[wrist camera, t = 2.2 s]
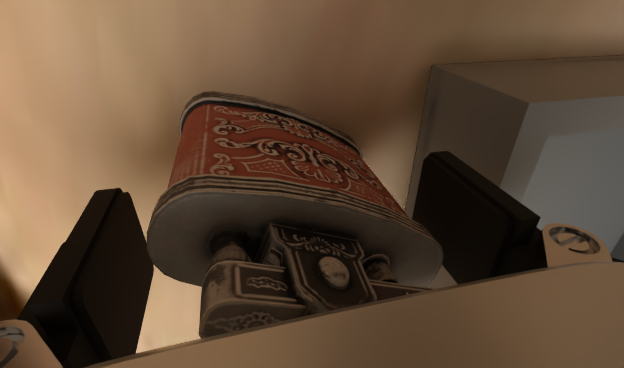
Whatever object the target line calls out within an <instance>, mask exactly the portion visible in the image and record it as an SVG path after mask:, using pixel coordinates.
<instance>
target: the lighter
mask: <svg viewBox="0 0 624 368" xmlns="http://www.w3.org/2000/svg"><path fill="white" fill-rule="evenodd" d="M179 135H180V142H179V146H178V150H177V154H176V158H175V162H174V166H173V169H172V173H171V177H170V181H169V185H168V189H167V190H166V191H165V192H164V193H163V194H162V195H161V196H160V198H159V200H158V202H157V204H156V207H155V209H154V211H153V214H152V217H151V220H150V224H149V227H148V231H147V251H148V253H149V256H150V258H151V260H152V263H153V264H154V265H155V266H156V267H157V268H158V269H159V270H160V271H161V272H162V273H163V274H164V275H166V276H169V277H171V278H173V279H176V280H178V281H181V282H185V283H189V284H193V285H197V286H201V287H202V293H201V309H200V325H199V336H200V337H201V339H202V338H206V337H211V336H215V335H220V334H225V333H229V332H234V331H239V330H243V329H248V328H252V327H257V326H262V325H266V324H271V323H276V322H280V321H285V320H290V319H294V318H299V317H304V316H308V315H313V314H318V313H323V312H327V311H332V310H337V309H342V308H346V307H351V306H356V305H361V304H365V303H370V302H375V301H380V300H385V299H389V298H394V297H399V296H404V295H409V294H413V293H418V292H423V291H428V290H433V289H432V288H426V287H427V286H428V285H429V284H430V283H431V282H432V281H433V280H434V278H435V277H436V275H437V273H438V272H439V270H440V268H441V266H442V261H443V257H444V256H443V251H442V247H441V246H440V245H439V243H438V242H437V241H436V240H435V239H434V237H433V236H432V235H431V234H430V233H429V231H428V230H427V229H426V228H425V227H423V226H422V225H421V224H419V223H417V222H415V221H413V220H411V219H410V218H409V217H408V216H407V214H406V213H405V212H404V211H403V209H402V208H401V207H400V206H399V204H398V203H397V202H396V201H395V199H394V198H393V197H392V196H391V194H390V193H389V192H388V191H387V189H386V188H385V187H384V186H383V184H382V183H381V182H380V181H379V179H378V178H377V177H376V176H375V174H374V173H373V172H372V171H371V169H370V168H369V167H368V166H367V164H366V163H365V162H364V161H363V156H362V153H361V151H360V149H359V147H358V146H357V145H356V144H355V143H354V141H353V140H352V139H351V138H349V137H348V136H347V135H345V134H343V133H342V132H340V131H338V130H337V129H335V128H333V127H332V126H330V125H328V124H327V123H325V122H323V121H321V120H319V119H317V118H314V117H312V116H310V115H307V114H305V113H303V112H300V111H298V110H296V109H293V108H291V107H288V106H284V105H280V104H277V103H273V102H269V101H265V100H262V99H258V98H254V97H249V96H242V95H235V94H228V93H222V92H215V91H212V92H203V93H200V94H198V95H196V96H194V97H193V98H192V99H191V100H190V101H189V102H188V103H187V104H186V106H185V108H184V111H183V113H182V115H181V119H180V124H179Z"/></svg>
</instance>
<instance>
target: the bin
mask: <svg viewBox="0 0 624 368" xmlns="http://www.w3.org/2000/svg"><path fill="white" fill-rule="evenodd" d="M439 151H449V152H450V153H452V154H453V155H455V156H456V157H457V158H459V159H460V160H462V161H463V162H464V163H466V164H467V165H469V166H470V167H471V168H473V169H474V170H476V171H477V172H478V173H480V174H481V175H483V176H484V177H485V178H487V179H488V180H489V181H491V182H492V183H494V184H495V185H496V186H498V187H499V188H501V189H502V190H503V191H505V192H506V193H508V194H509V195H510V196H512V197H513V198H515V199H516V200H517V201H519V202H520V203H522V204H523V205H524V206H526V207H527V208H529V209H530V210H531V211H533V212H534V213H535V214H537V215H538V216H540V217H541V218H540V220H539V223H538V225H537V228H538V229H540V230H541V231H542V229H543V227H545V226H546V225H548V224H552V223H563V224H569V225H573V226H576V227H579V228H582V229H584V230H586V231H588V232H590V233H592V234H593V235H595V236H597V237H598V238H599V239H600V240H602V241H603V242H604V244H605V245H606V247H607V248H608V251H609V253H610V256H611V257H612V258H616V259H619V260H622V261H624V55H616V56H597V57H577V58H558V59H538V60H519V61H499V62H480V63H461V64H441V65H432V68H431V73H430V78H429V84H428V89H427V95H426V100H425V106H424V111H423V116H422V122H421V127H420V133H419V138H418V144H417V149H416V154H415V160H414V165H413V171H412V176H411V182H410V187H409V193H408V198H407V203H406V209H405V213H406V214H407V216H408V217H409V218H410V219H411V220H412V216H413V210H414V205H415V200H416V195H417V190H418V185H419V180H420V175H421V170H422V164H423V160H424V159H425V158H426V157H427V156H428V155H429V153H431V152H439ZM453 285H458V284H457V283H456V282H455V280H454V279H453V278H452V277H451V275H450V274H449V273H448V272H447V270H446V269H445V268H444V267H443V265H442V266H441V268H440V270H439V272H438V273H437V275H436V277H435V278H434V280H433V281H432V282H431V283H430V284H429V285H428V286H427V287H426V288H432V289H438V288H443V287H448V286H453Z"/></svg>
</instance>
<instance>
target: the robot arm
mask: <svg viewBox="0 0 624 368" xmlns="http://www.w3.org/2000/svg"><path fill="white" fill-rule="evenodd" d="M540 218H541V217H540V216H538V215H537V214H535V213H534V212H533V211H531V210H530V209H529V208H527V207H526V206H524V205H523V204H522V203H520V202H519V201H517V200H516V199H515V198H513V197H512V196H510V195H509V194H508V193H506V192H505V191H503V190H502V189H501V188H499V187H498V186H496V185H495V184H494V183H492V182H491V181H489V180H488V179H487V178H485V177H484V176H483V175H481V174H480V173H478V172H477V171H476V170H474V169H473V168H471V167H470V166H469V165H467V164H466V163H464V162H463V161H462V160H460V159H459V158H457V157H456V156H455V155H453V154H452V153H450V152H449V151H439V152H431V153H429V155H428V156H427V157H426V158H425V159H424V160H423V164H422V170H421V175H420V180H419V185H418V190H417V195H416V200H415V205H414V210H413V216H412V220H413V221H415V222H417V223H419V224H421V225H422V226H423V227H425V228H426V229H427V230H428V231H429V233H430V234H431V235H432V236H433V237H434V239H435V240H436V241H437V242H438V243H439V245H440V246H441V247H442V251H443V256H444V257H443V261H442V265H443V267H444V268H445V269H446V270H447V272H448V273H449V274H450V275H451V277H452V278H453V279H454V280H455V282H456V283H457V284H458V285H453V286H448V287H443V288H438V289H433V290H428V291H423V292H418V293H413V294H409V295H404V296H399V297H394V298H389V299H385V300H380V301H375V302H370V303H365V304H361V305H356V306H351V307H346V308H342V309H337V310H332V311H327V312H323V313H318V314H313V315H308V316H304V317H299V318H294V319H290V320H285V321H280V322H276V323H271V324H266V325H262V326H257V327H252V328H248V329H243V330H239V331H234V332H229V333H225V334H220V335H215V336H211V337H206V338H202V339H197V340H193V341H188V342H184V343H180V344H175V345H171V346H166V347H162V348H157V349H153V350H149V351H145V352H141V353H136V349H137V345H138V340H139V336H140V331H141V327H142V322H143V318H144V313H145V309H146V304H147V300H148V295H149V291H150V286H151V282H152V277H153V272H154V267H153V263H152V260H151V258H150V256H149V253H148V251H147V243H146V240H145V237H144V234H143V231H142V228H141V225H140V222H139V219H138V216H137V213H136V210H135V207H134V204H133V201H132V198H131V196H130V194H129V193H128V192H124V193H123V192H122V190H121V189H120V188H115V189H106V190H98V191H96V192H95V193H94V195H93V196H92V198H91V200H90V201H89V203H88V205H87V206H86V208H85V210H84V211H83V213H82V215H81V216H80V218H79V220H78V222H77V223H76V225H75V227H74V228H73V230H72V232H71V233H70V235H69V237H68V238H67V240H66V242H64V243H63V244H62V245H61V247H60V248H59V250H58V252H57V253H56V255H55V257H54V258H53V260H52V262H51V263H50V265H49V267H48V268H47V270H46V272H45V273H44V275H43V277H42V278H41V280H40V282H39V283H38V285H37V287H36V288H35V290H34V292H33V293H32V295H31V297H30V298H29V300H28V302H27V303H26V305H25V307H24V308H23V310H22V312H21V313H20V315H19V317H18V318H17V320H8V321H2V322H0V368H624V261H622V260H619V259H616V258H612V257H611V256H610V253H609V251H608V248H607V247H606V245H605V244H604V242H603V241H602V240H600V239H599V238H598V237H597V236H595V235H593V234H592V233H590V232H588V231H586V230H584V229H582V228H579V227H576V226H573V225H569V224H563V223H552V224H548V225H546V226H545V227H543V229H542V231H541V230H540V229H538V228H537V225H538V223H539V220H540Z"/></svg>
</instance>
